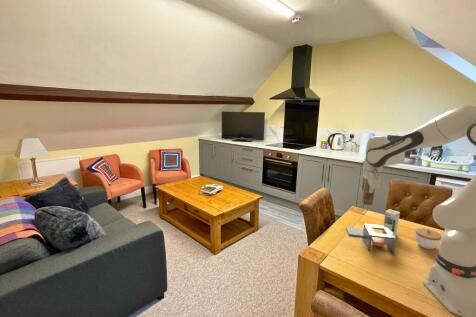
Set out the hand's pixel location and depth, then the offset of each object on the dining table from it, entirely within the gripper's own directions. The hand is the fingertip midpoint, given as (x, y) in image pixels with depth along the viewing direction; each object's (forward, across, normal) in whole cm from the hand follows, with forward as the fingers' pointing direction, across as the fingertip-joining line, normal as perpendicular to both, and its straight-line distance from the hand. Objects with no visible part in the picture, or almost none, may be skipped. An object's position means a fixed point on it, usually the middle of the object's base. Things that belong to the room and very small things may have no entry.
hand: (369, 190), depth 129 cm
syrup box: (+29, +7, -16) cm, 34 cm away
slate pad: (+29, +4, +3) cm, 29 cm away
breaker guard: (+28, -7, -6) cm, 30 cm away
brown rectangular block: (+8, 0, 0) cm, 8 cm away
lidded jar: (+28, -2, -31) cm, 42 cm away
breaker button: (+27, -7, -6) cm, 29 cm away
